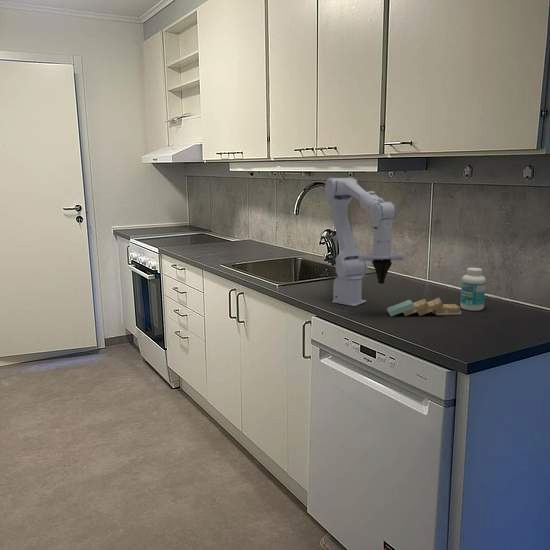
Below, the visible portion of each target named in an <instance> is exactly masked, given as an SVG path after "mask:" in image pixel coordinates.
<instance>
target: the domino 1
mask: <svg viewBox="0 0 550 550" xmlns="http://www.w3.org/2000/svg"><path fill="white" fill-rule="evenodd" d="M413 303H414V302H413V301H412V299H407V300H405V301H402V302H400V303H397V304H394V305H391V306H389V307H387V308H386V311H387V313H388V314H389V316H390V317H394V316H396V315H399V314H403V312H404V311H407V310H410V309H412V308H415V307H414V305H413Z"/></svg>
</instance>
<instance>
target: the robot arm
mask: <svg viewBox="0 0 550 550" xmlns="http://www.w3.org/2000/svg"><path fill="white" fill-rule="evenodd" d="M324 193H325V197H326V201H327V205H329V209H330V213H331V217H332V218H331V219H332V221H333V225H334V230H335V234H336V238H337V242H338V247H339V251H340V252H339V253H338V255H337V256H336V257H335V259H334V261H335V273H336V274H337V277H335V279H334V280H333V285H332V286H333V288H332V289H333V293H332V295H333V298H332V301H331V303H334V304H340V305H341V304H342V305H346V306H351V307H357V306H359V305H361V304H365V303H366V302H367V300H366V299H362V287H363V286H362V283H363V280H362V279H364V278H365V277H364V276H365V275H366V274H367V271H368V263H367V262H372V265H373V267H374V271H375V273H376V278H377V283H378V284H381V285H382V284H385V280H386V277H387V275H388V271H389V270H390V268H391V266H392V262H393V261H406V253H393V252H392V243H393V242H392V241H393V240H392V239H393V238H392V237H393V220H395V218H396V217H397V214H398V212H397V211H398V209H397V206H396V204H395V203H394V202H393V201H385V200H384V198H382V197H379V196H378V195H377V194H376V192H375V191H366V190H365V189H364V188H363V187H361V186H360V185H359V184H358V180H357V179H355V178H354V177H328V178H327V180H326V182H325V186H324ZM353 198H354V199H356V200H357V201H359V206H360V207H361V208H363V209H364V210H365V211H366V212H368V213H369V217H370V219H371V226H372V227H373V229H372V231H373V232H372V234H373V235H372V236H373V237H372V253H366V254H364V253H362V252H361V251H360V250H358V249H356V244H355V241H354V237H353V232H352V229H351V228H352V227H351V224H350V221H349V216H348V212H347V208H346V207H347V205H348V204H349V203H351V201H352V199H353Z"/></svg>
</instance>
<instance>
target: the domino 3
mask: <svg viewBox="0 0 550 550" xmlns="http://www.w3.org/2000/svg"><path fill="white" fill-rule="evenodd" d="M426 302H427V304H428V306H429V307H428V308H425V309H423V310H420V311H417V314H418V316H419V317H421V316H424V315H425V314H429V313H431V312H432V311H433V310H436V309H438V308H441V307H443V304H444V303H443V302H442V300H441V299H440V297H437V298H434V299H432V300H429V301H426Z"/></svg>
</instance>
